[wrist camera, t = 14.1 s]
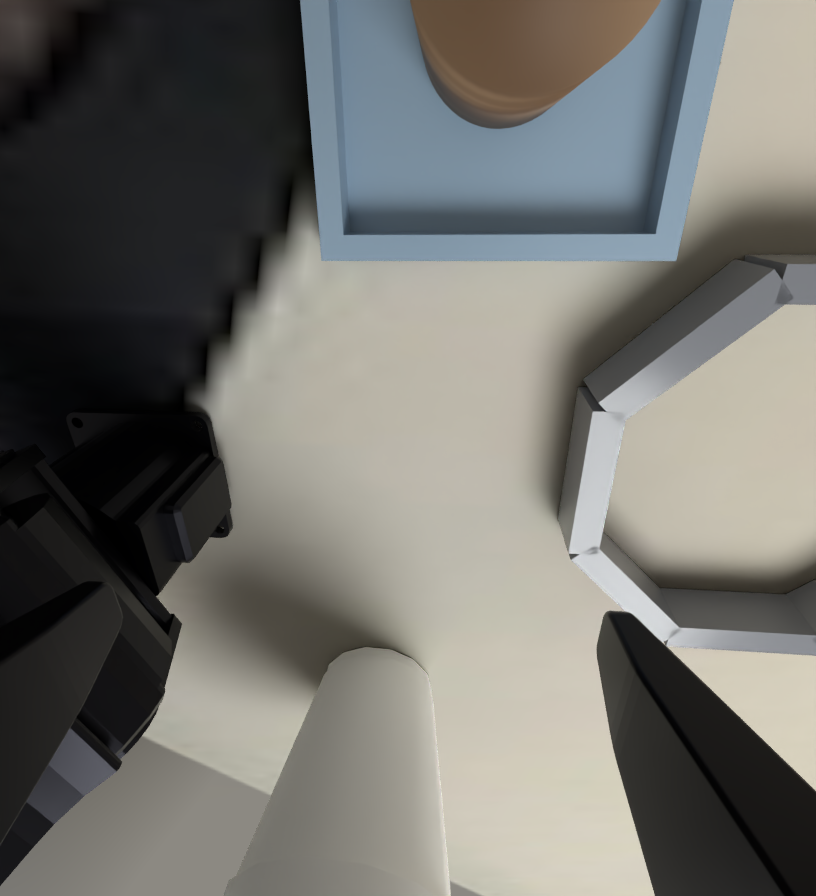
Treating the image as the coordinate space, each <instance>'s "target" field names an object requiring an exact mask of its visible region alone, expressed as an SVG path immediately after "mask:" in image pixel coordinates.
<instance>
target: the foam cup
mask: <svg viewBox="0 0 816 896" xmlns="http://www.w3.org/2000/svg"><path fill="white" fill-rule="evenodd" d="M224 896H451V892H450V881H449V870H448V859H447V848H446V837H445V826H444V815H443V804H442V793H441V782H440V771H439V760H438V749H437V738H436V727H435V716H434V705H433V698H432V689H431V685H430V681H429V677H428V674H427V673H426V672H425V671H424V670H423V669H422V668H421V667H420V666H419V665H418V664H417V663H416V662H415V661H414V660H413V659H411V658H409V657H407V656H405V655H402V654H400V653H398V652H396V651H393V650H391V649H382V648H371V647H363V648H359V649H355V650H351V651H347V652H343V653H342V654H341V655H340V656H338V657H337V658H336V659H335V660H334V661H332V662H331V663H330V664H329V666H328V669H327V672H326V673H325V674H324V676H323V678H322V681H321V683H320V685H319V687H318V690H317V692H316V694H315V697H314V699H313V701H312V703H311V706H310V708H309V710H308V713H307V715H306V717H305V719H304V722H303V724H302V726H301V729H300V731H299V733H298V735H297V738H296V740H295V742H294V745H293V747H292V749H291V752H290V754H289V756H288V758H287V761H286V763H285V765H284V768H283V770H282V772H281V774H280V777H279V779H278V781H277V784H276V786H275V788H274V790H273V793H272V795H271V797H270V800H269V802H268V804H267V807H266V809H265V811H264V814H263V816H262V818H261V821H260V823H259V825H258V827H257V830H256V832H255V834H254V836H253V839H252V841H251V843H250V845H249V848H248V850H247V852H246V855H245V857H244V860H243V862H242V864H241V866H240V868H239V871H238V873H237V875H236V876H235V877H234V878H232V879H230V880H229V882H228V884H227V887H226V890H225V893H224Z"/></svg>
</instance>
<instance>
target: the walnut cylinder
mask: <svg viewBox="0 0 816 896" xmlns="http://www.w3.org/2000/svg"><path fill="white" fill-rule="evenodd" d="M660 2H661V0H410V3H411V7H412V11H413V16H414V20H415V24H416V29H417V33H418V38H419V42H420V46H421V51H422V55H423V59H424V63H425V67H426V70H427V73H428V76H429V78H430V80H431V83H432V85H433V87H434V88H435V90H436V92H437V94H438V95H439V97H440V98H441V99H442V101H443V102H444V103H445V104H446V105H447V106H448V107H449V108H450V109H451V110H452V111H453V112H454V113H455V114H456V115H458V116H459V117H460V118H462V119H464V120H466V121H467V122H469V123H472V124H474V125H477V126H480V127H485V128H490V129H504V128H512V127H516V126H519V125H522V124H525V123H527V122H530V121H532V120H533V119H535V118H537V117H539V116H540V115H542V114H543V113H544V112H546V111H547V110H548V109H550V108H551V107H552V106H553V105H555V104H556V103H557V102H559V101H560V100H561V99H562V98H564V97H565V96H566V95H567V94H569V93H570V92H571V91H572V90H574V89H575V88H576V87H578V86H579V85H580V84H581V83H583V82H584V81H585V80H586V79H588V78H589V77H590V76H591V75H593V74H594V73H595V72H597V71H598V70H599V69H600V68H602V67H603V66H604V65H605V64H607V63H608V62H609V61H610V60H612V59H613V58H614V57H616V56H617V55H618V54H619V53H620V52H621V51H622V50H623V49H624V48H625V47H626V46H627V45H628V44H629V43H630V42H631V41H632V40H633V39H634V37H635V36H636V35H637V34H638V33H639V31H640V30H641V29H642V28H643V27H644V25H645V24H646V23H647V21H648V20H649V18H650V17H651V15H652V14H653V12H654V11H655V9H656V8H657V7H658V5H659V3H660Z"/></svg>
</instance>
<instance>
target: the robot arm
mask: <svg viewBox="0 0 816 896" xmlns="http://www.w3.org/2000/svg"><path fill="white" fill-rule="evenodd" d="M78 418H79V419H80V420H81V421H82V422H83V424H82V423H81V422H79V420H78ZM66 421H67V425H68V428H69V431H70V433H71V436H72V439H73V442H74V445H75V448H74V449H73V450H71V451H70V452H68V453H67V454H66V455H64V456H63V457H61V458H60V459H58V460H57V461H55V462H54V463H52V464H51V465H48V464H47V463H46V462H45V460H44V458H45V457H46V456H45V455H44V454H43V453H42V451H41V450H40V449H39V448H38V446H37V445H36V444H33V445H31V446H28V447H26V448H24V449H21V450H19V451H17V452H14V450H13V449H11V450H8V451H6V452H4V451H1V452H0V885H1V884H2V883H3V882H4V881H5V880H6V878H7V877H8V876H9V875H10V874H11V873H12V871H13V870H14V869H15V868H16V867H17V866H18V864H19V863H20V862H21V861H22V860H23V859H24V857H25V856H26V855H27V854H28V853H29V851H30V850H31V849H32V848H33V847H34V846H35V845H36V844H37V843H38V841H39V840H40V839H41V838H42V837H43V836H44V835H45V834H46V832H48V830H49V829H50V828H51V827H52V826H53V825H54V824H55V823H56V822H57V821H58V820H59V819H60V818H61V817H62V816H63V815H65V813H67V812H68V811H69V810H70V809H71V808H72V807H73V806H74V805H75V804H76V803H77V802H78V801H79V800H80V799H81V798H83V797H84V796H85V795H86V794H88V793H89V792H90V791H92V790H93V789H94V788H96V787H97V786H98V785H100V784H101V783H102V782H104V781H105V780H106V779H108V778H109V777H110V776H111V775H113V774H114V773H115V772H116V771H117V770H118V769H119V768H120V766H121V764H122V761H121V760H120V759H121V758H122V757H123V756H124V755H125V754H126V753H127V752H128V751H129V750H130V749H131V748H132V747H133V746H134V745H135V743H136V742H137V741H138V740H139V739H140V737H141V736H142V735H143V733H144V732H145V731H146V729H147V728H148V727H149V725H150V723H151V722H152V720H153V718H154V716H155V715H156V713H157V710H158V707H159V705H160V703H161V702H162V700H163V697H164V694H165V684H166V680H167V677H168V673H169V670H170V666H171V662H172V659H173V655H174V651H175V648H176V644H177V640H178V637H179V633H180V629H181V626H182V623H181V622H180V621H179V620H178V618H177V617H176V616H175V615H174V614H170V613H169V612H168V611H167V609H166V608H165V607H164V606H163V605H162V603H161V602H160V601H159V600H158V598H157V597H156V596H157V595H158V594H159V593H160V592H161V591H162V589H163V588H164V587H165V585H166V584H167V583H168V581H169V580H170V578H171V577H172V576H173V574H174V573H175V572H176V570H177V569H178V568H179V566H180V565H181V563H190V562H191V561H192V560H193V559H194V558H195V557H196V555H197V554H198V552H199V551H200V550H201V548H202V547H203V545H204V544H205V543H206V541H207V540H208V538H209V537H215V538H224V537H226V536H228V534H229V533H230V531H231V530H232V528H233V525H232V520H231V515H230V510H229V509H230V508H231V500H230V495H229V490H228V485H227V480H226V475H225V470H224V465H223V461H222V460H221V459H220V458H219V456H218V451H217V447H216V442H215V437H214V432H213V427H212V423H211V420H210V418H209V417H208V416H207V415H205V414H204V413H200V412H177V411H140V410H102V409H77V410H74V411H73V412H71V413H69V414H68V415H67V418H66ZM195 421H198V422H199V423H201V425H202V428H201V427H198V426H197V425H196V423H195ZM218 525H220V526H222V527H223V528H224V529H222V528H220V527H219V526H218ZM597 660H598V665H599V671H600V677H601V683H602V688H603V694H604V700H605V706H606V711H607V717H608V723H609V729H610V734H611V739H612V744H613V749H614V753H615V757H616V761H617V765H618V768H619V772H620V775H621V779H622V782H623V786H624V789H625V792H626V796H627V799H628V803H629V806H630V810H631V813H632V817H633V820H634V824H635V827H636V831H637V834H638V838H639V841H640V845H641V848H642V852H643V855H644V859H645V862H646V866H647V869H648V873H649V876H650V880H651V883H652V887H653V890H654V894H655V896H816V791H815V790H814V789H813V788H812V787H811V786H810V785H809V784H808V783H807V782H806V781H805V780H804V779H803V778H802V777H801V776H800V775H799V774H798V773H797V772H796V771H795V770H794V769H793V768H791V767H790V766H789V765H788V764H787V763H786V762H785V761H784V760H783V759H782V758H781V757H780V756H779V755H778V754H777V753H776V752H775V751H774V750H773V749H772V748H771V747H770V746H769V745H768V744H767V743H766V742H765V741H764V740H763V739H762V738H760V737H759V736H758V735H757V734H756V733H755V732H754V731H753V730H752V729H751V728H750V727H749V726H748V725H747V724H746V723H745V722H744V721H743V720H742V719H741V718H740V717H739V716H738V715H737V714H736V713H735V712H734V711H733V710H732V709H731V708H729V707H728V706H727V705H726V704H725V703H724V702H723V701H722V700H721V699H720V698H719V697H718V696H717V695H716V694H715V693H714V692H713V691H712V690H711V689H710V688H709V687H708V686H707V685H706V684H705V683H704V682H703V681H702V680H701V679H700V678H699V677H697V676H696V675H695V674H694V673H693V672H692V671H691V670H690V669H689V668H688V667H687V666H686V665H685V664H684V663H683V662H682V661H681V660H680V659H679V658H678V657H677V656H676V655H675V654H674V653H673V652H672V651H671V650H670V649H669V648H668V647H666V646H665V645H664V644H663V643H662V642H661V641H660V640H659V639H658V638H657V637H656V636H655V635H654V634H653V633H652V632H651V631H650V630H649V629H648V628H647V627H646V626H645V625H644V624H643V623H642V622H641V621H640V620H639V619H638V618H637V617H635V616H634V615H633V614H632V613H630V612H622V611H607V612H606V613H605V614H604V617H603V621H602V625H601V629H600V634H599V638H598V642H597Z"/></svg>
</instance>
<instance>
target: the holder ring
mask: <svg viewBox="0 0 816 896" xmlns="http://www.w3.org/2000/svg"><path fill="white" fill-rule="evenodd" d="M785 304H797V305H816V255H746V256H745V259H744V261H741V260H737V259H734V260H733V261H731V262H730V263H729V264H728V265H726V266H725V267H724V268H723V269H721V270H720V271H719V272H718V273H716V274H715V275H714V276H713V277H711V278H710V279H709V280H707V281H706V282H705V283H704V284H702V285H701V286H700V287H699V288H697V289H696V290H695V291H694V292H692V293H691V294H690V295H689V296H687V297H686V298H685V299H684V300H682V301H681V302H680V303H678V304H677V305H676V306H675V307H673V308H672V309H671V310H670V311H668V312H667V313H666V314H665V315H663V316H662V317H661V318H660V319H658V320H657V321H656V322H655V323H653V324H652V325H651V326H649V327H648V328H647V329H646V330H644V331H643V332H642V333H641V334H639V335H638V336H637V337H636V338H634V339H633V340H632V341H631V342H629V343H628V344H627V345H626V346H624V347H623V348H622V349H620V350H619V351H618V352H617V353H615V354H614V355H613V356H612V357H610V358H609V359H608V360H607V361H605V362H604V363H603V364H602V365H600V366H599V367H598V368H597V369H595V370H594V371H593V372H591V373H590V374H589V375H588V376H586V377H585V378H584V379H583V380H584V382H585V383H586V385H587V386H588V387H578V390H577V397H576V403H575V410H574V416H573V423H572V429H571V436H570V442H569V449H568V456H567V462H566V469H565V475H564V482H563V488H562V495H561V501H560V508H559V514H558V521H559V524H560V527H561V531H562V534H563V537H564V541H565V544H566V547H567V550H568V554H569V556H570V559H571V561H572V562H574V563H575V564H576V565H577V566H578V567H579V568H580V569H581V570H582V571H583V572H584V573H585V574H586V575H587V576H588V577H589V578H590V579H591V580H593V581H594V582H595V583H596V584H597V585H598V586H599V587H600V588H601V589H602V590H603V591H604V592H605V593H606V594H607V595H608V596H609V597H610V598H612V599H613V600H614V601H615V602H616V603H617V604H618V605H619V606H620V607H621V608H622V609H623V610H624V611H625V612H630V613H632V614H633V615H634V616H635V617H637V618H638V619H639V620H640V621H641V622H642V623H643V624H644V625H645V626H646V627H647V628H648V629H649V630H650V631H651V632H652V633H653V634H654V635H655V636H656V637H657V638H658V639H659V640H660V641H661V642H664V643H665V645H666V646H667V647H683V648H699V649H716V650H732V651H748V652H765V653H781V654H797V655H814V656H816V579H815V580H813V581H811V582H809V583H807V584H805V585H803V586H801V587H799V588H797V589H795V590H793V591H791V592H789V593H787V594H767V593H747V592H728V591H709V590H690V589H671V588H659V587H658V586H657V585H656V584H655V583H654V582H653V581H652V580H651V579H650V578H649V577H648V576H647V575H646V574H645V573H644V572H643V571H642V570H641V569H640V568H639V567H638V566H637V565H636V564H635V563H634V562H633V561H632V560H631V559H630V558H629V557H628V556H627V555H626V554H625V553H624V552H623V551H622V550H621V549H620V548H619V547H618V546H617V545H616V544H615V543H614V542H613V541H612V540H611V539H610V538H609V537H608V536H607V535H606V534H605V533H604V532H603V529H604V524H605V519H606V514H607V509H608V504H609V499H610V495H611V490H612V485H613V480H614V475H615V470H616V465H617V461H618V456H619V451H620V446H621V441H622V436H623V431H624V427H625V422H626V420H627V419H628V418H630V417H631V416H632V415H634V414H635V413H637V412H638V411H639V410H641V409H642V408H643V407H645V406H646V405H648V404H649V403H650V402H652V401H653V400H654V399H656V398H657V397H658V396H660V395H661V394H663V393H664V392H665V391H667V390H668V389H669V388H671V387H672V386H674V385H675V384H676V383H678V382H679V381H680V380H682V379H683V378H685V377H686V376H687V375H689V374H690V373H691V372H693V371H694V370H696V369H697V368H698V367H700V366H701V365H702V364H704V363H705V362H707V361H708V360H709V359H711V358H712V357H713V356H715V355H716V354H718V353H719V352H720V351H722V350H723V349H724V348H726V347H727V346H729V345H730V344H731V343H733V342H734V341H735V340H737V339H738V338H740V337H741V336H742V335H744V334H745V333H746V332H748V331H749V330H751V329H752V328H753V327H755V326H756V325H757V324H759V323H760V322H762V321H763V320H764V319H766V318H767V317H768V316H770V315H771V314H773V313H774V312H775V311H777V310H778V309H779V308H781V307H782V306H784V305H785Z"/></svg>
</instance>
